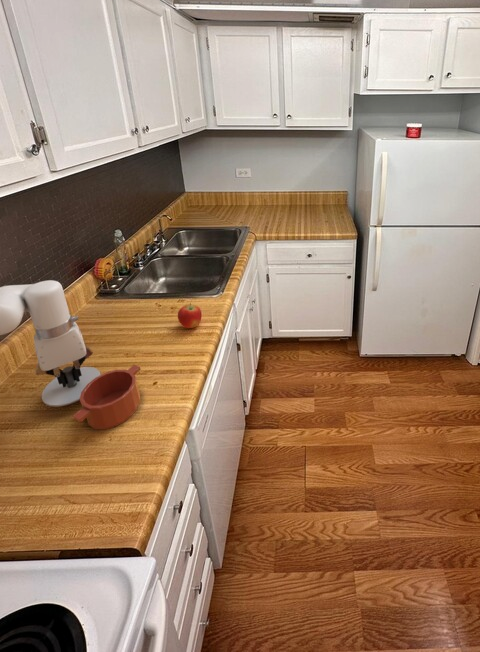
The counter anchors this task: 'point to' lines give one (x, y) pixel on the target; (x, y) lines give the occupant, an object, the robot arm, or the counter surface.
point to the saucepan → (110, 399)
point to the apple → (189, 316)
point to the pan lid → (68, 387)
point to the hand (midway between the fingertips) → (71, 380)
